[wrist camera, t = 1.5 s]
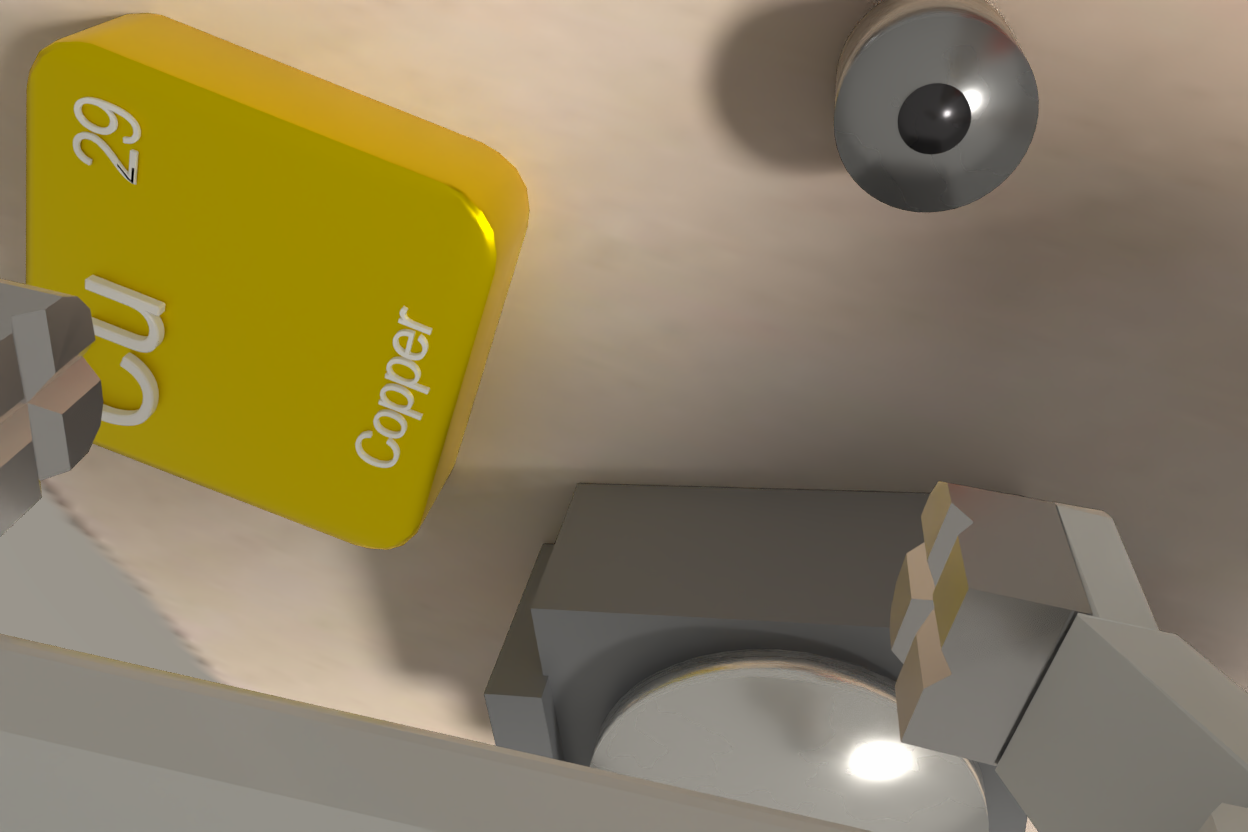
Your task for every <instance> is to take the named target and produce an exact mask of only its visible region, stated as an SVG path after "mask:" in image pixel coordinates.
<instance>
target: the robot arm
mask: <svg viewBox="0 0 1248 832" xmlns="http://www.w3.org/2000/svg"><path fill="white" fill-rule="evenodd" d="M94 341H95V334H94V328H93V323H92V317H91V311H90V308H89V307H88V306H87V305H86V304H85V303H84V302H83V301H82V300H81V299H80V298H79V297H78V296H74V295H69V294H65V293H61V292H57V291H52V290H48V289H44V288H39V287H35V286H31V285H27V284H22V283H18V282H14V281H9V280H5V279H1V278H0V537H1V536H2V535H3V534H4V533H5V532H6V531H7V530H8V529H9V528H10V527H11V526H13V524H14V523H16V522H17V521H18V520H19V519H20V518H21V517H22V516H23V515H24V514H25V513H26V512H27V511H28V510H29V509H30V508H31V507H33V506H34V505H35V504H36V503H37V502H38V501H39V500H40V499H41V498H42V495H41V483H40V481H41V480H43V479H46V478H49V477H52V476H55V475H58V474H61V473H64V472H67V471H69V470H71V469H72V468H73V467H74V466H75V465H76V464H77V463H78V462H79V461H80V460H81V459H82V458H83V457H84V456H85V455H86V454H87V453H88V452H89V449H90V447H91V445H92V443H93V441H94V439H95V436H96V434H97V432H98V430H99V428H100V426H101V417H102V409H103V395H102V386H101V380H100V378H99V377H98V376H97V374H96V373H95V372H94V370H93V369H92V368H91V367H90V365H89V364H88V363H87V361H86V360H85V359H84V357H83V356H84V354H85V353H86V352H87V350H88V349H89V348H90V346H91V345H92V344H93V343H94ZM921 521H922V528H923V535H924V543H922V544H921V545H919V546H917V547H916V548H914V549H913V550H911V551H910V552H908V553H906V556H905V559H904V562H903V564H902V567H901V570H900V573H899V576H898V578H897V581H896V586H895V591H894V596H893V600H892V605H891V613H890V641H891V650H892V652H893V653H894V654H895V655H896V656H897V657H898V659H899V660H900V661H901V662H902V663H903V667H902V669H901V672H900V674H899V676H898V679H897V681H896V684H895V694H896V703H897V713H898V722H899V732H900V741H901V743H905V744H909V745H913V746H917V747H921V748H925V749H929V750H933V751H937V752H941V753H945V754H949V755H953V756H957V757H961V758H965V759H969V760H973V761H977V762H981V763H985V764H989V765H993V766H997V767H996V769H995V771H996V773H997V774H998V775H999V777H1000V778H1001V780H1002V781H1003V783H1004V784H1005V785H1006V787H1007V788H1008V790H1009V791H1010V792H1011V794H1012V795H1013V797H1014V798H1015V799H1016V801H1017V802H1018V804H1019V805H1020V807H1021V808H1022V809H1023V811H1024V812H1025V814H1026V815H1027V816H1028V818H1029V819H1030V821H1031V822H1032V823H1033V825H1034V826H1035V828H1036V829H1037V831H1038V832H1248V693H1247V692H1245V691H1244V690H1243V689H1242V688H1241V687H1239V686H1238V685H1237V684H1236V683H1235V682H1233V681H1232V680H1231V679H1230V678H1229V677H1227V676H1226V675H1225V674H1224V673H1223V672H1221V671H1220V670H1219V669H1218V668H1217V667H1215V666H1214V665H1213V664H1212V663H1211V662H1209V661H1208V660H1207V659H1206V658H1205V657H1203V656H1202V655H1201V654H1200V653H1199V652H1197V651H1196V650H1195V649H1194V648H1193V647H1191V646H1190V645H1189V644H1188V643H1186V642H1185V641H1184V640H1183V639H1182V638H1180V637H1179V636H1178V635H1177V634H1172V633H1168V632H1163V631H1159V628H1158V626H1157V624H1156V621H1155V619H1154V616H1153V614H1152V612H1151V609H1150V607H1149V604H1148V602H1147V600H1146V597H1145V595H1144V593H1143V590H1142V588H1141V585H1140V583H1139V581H1138V578H1137V576H1136V573H1135V571H1134V569H1133V566H1132V564H1131V561H1130V559H1129V557H1128V554H1127V552H1126V550H1125V547H1124V545H1123V542H1122V540H1121V538H1120V535H1119V533H1118V530H1117V528H1116V526H1115V523H1114V521H1113V519H1112V517H1110V516H1109V515H1108V514H1107V513H1105V512H1104V511H1101V510H1096V509H1090V508H1084V507H1078V506H1073V505H1067V504H1061V503H1055V502H1050V501H1043V500H1038V499H1032V498H1027V497H1022V496H1016V495H1011V494H1006V493H1000V492H995V491H990V490H984V489H979V488H974V487H968V486H963V485H958V484H952V483H947V482H941V481H938V483H937V484H936V486H935V487H934V489H933V490H932V492H931V493H930V495H929V498H928V500H927V503H926V505H925V507H924V510H923V512H922V515H921ZM0 832H874V831H869V830H865V829H860V828H856V827H852V826H847V825H843V824H838V823H834V822H830V821H825V820H821V819H816V818H812V817H808V816H803V815H799V814H794V813H790V812H786V811H781V810H777V809H772V808H768V807H764V806H759V805H755V804H750V803H746V802H741V801H737V800H733V799H728V798H724V797H719V796H715V795H711V794H706V793H702V792H697V791H693V790H689V789H684V788H680V787H675V786H671V785H667V784H662V783H658V782H653V781H649V780H645V779H640V778H636V777H631V776H627V775H623V774H618V773H614V772H609V771H605V770H600V769H596V768H592V767H587V766H583V765H578V764H574V763H570V762H565V761H561V760H556V759H552V758H548V757H543V756H539V755H534V754H530V753H526V752H521V751H517V750H512V749H508V748H504V747H499V746H495V745H490V744H486V743H481V742H477V741H473V740H468V739H464V738H459V737H455V736H451V735H446V734H442V733H437V732H433V731H428V730H424V729H420V728H415V727H411V726H406V725H402V724H397V723H393V722H388V721H384V720H379V719H375V718H371V717H366V716H362V715H357V714H353V713H348V712H344V711H339V710H335V709H330V708H326V707H322V706H317V705H313V704H308V703H304V702H299V701H295V700H290V699H286V698H281V697H277V696H273V695H268V694H264V693H259V692H255V691H251V690H246V689H242V688H237V687H233V686H228V685H224V684H220V683H215V682H211V681H206V680H202V679H197V678H193V677H189V676H184V675H180V674H175V673H171V672H167V671H162V670H158V669H154V668H149V667H144V666H140V665H135V664H131V663H127V662H122V661H118V660H114V659H109V658H105V657H100V656H96V655H92V654H87V653H83V652H78V651H74V650H69V649H65V648H61V647H57V646H52V645H48V644H43V643H38V642H34V641H30V640H25V639H21V638H17V637H12V636H8V635H4V634H0Z"/></svg>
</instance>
